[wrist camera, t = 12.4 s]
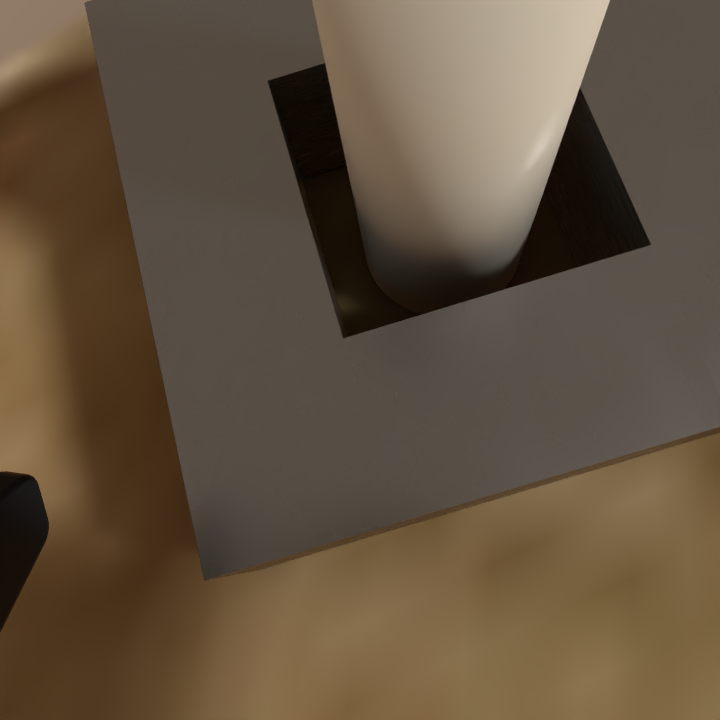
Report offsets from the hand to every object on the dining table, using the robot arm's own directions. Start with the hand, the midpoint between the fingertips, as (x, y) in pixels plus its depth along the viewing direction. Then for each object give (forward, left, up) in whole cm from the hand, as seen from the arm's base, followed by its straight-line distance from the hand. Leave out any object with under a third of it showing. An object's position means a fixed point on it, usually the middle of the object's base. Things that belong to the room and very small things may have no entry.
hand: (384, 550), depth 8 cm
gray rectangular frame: (+7, -3, -7) cm, 11 cm away
